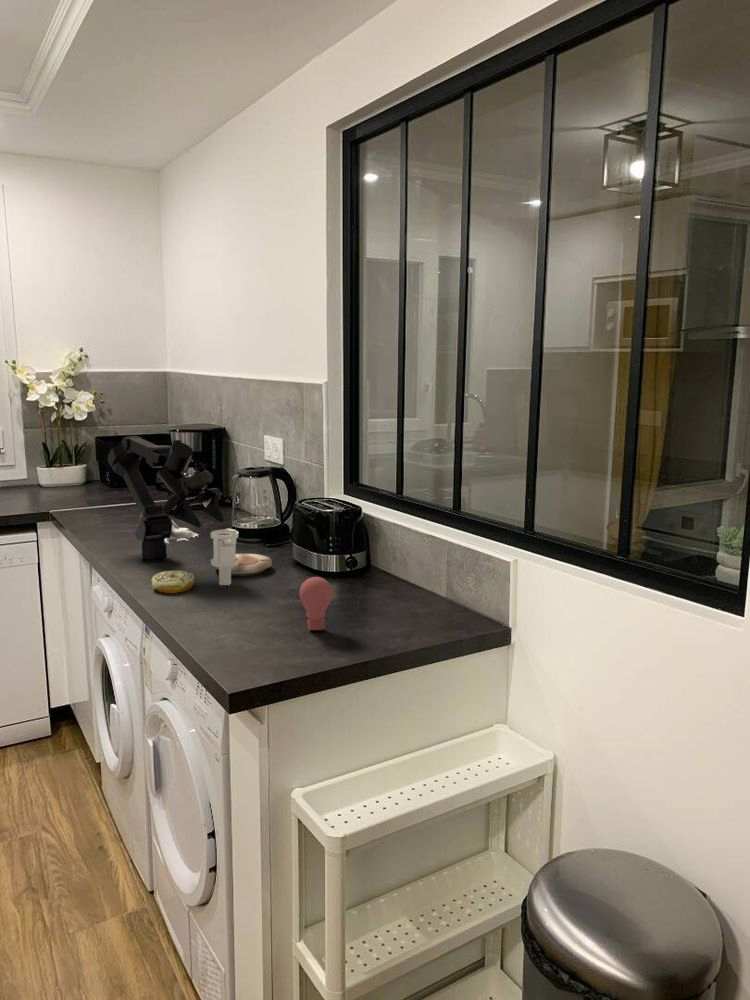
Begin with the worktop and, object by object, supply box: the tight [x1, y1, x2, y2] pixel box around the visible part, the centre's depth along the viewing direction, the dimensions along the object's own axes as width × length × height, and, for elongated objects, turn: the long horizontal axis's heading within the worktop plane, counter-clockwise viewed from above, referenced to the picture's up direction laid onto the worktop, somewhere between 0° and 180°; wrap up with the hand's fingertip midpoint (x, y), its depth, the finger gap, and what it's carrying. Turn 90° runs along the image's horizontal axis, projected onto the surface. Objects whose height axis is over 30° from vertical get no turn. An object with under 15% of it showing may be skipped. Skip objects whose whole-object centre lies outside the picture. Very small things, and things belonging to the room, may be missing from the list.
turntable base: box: [231, 569, 265, 577], centre depth 209 cm, size 12×12×2 cm
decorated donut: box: [150, 570, 195, 594], centre depth 191 cm, size 10×11×4 cm
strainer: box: [210, 528, 239, 586], centre depth 194 cm, size 7×7×15 cm
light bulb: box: [299, 576, 333, 631], centre depth 163 cm, size 7×7×12 cm
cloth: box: [140, 519, 199, 544], centre depth 246 cm, size 22×19×6 cm
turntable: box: [213, 553, 273, 572], centre depth 209 cm, size 16×16×1 cm
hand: (211, 524), depth 200 cm, fingers open, 9 cm apart
